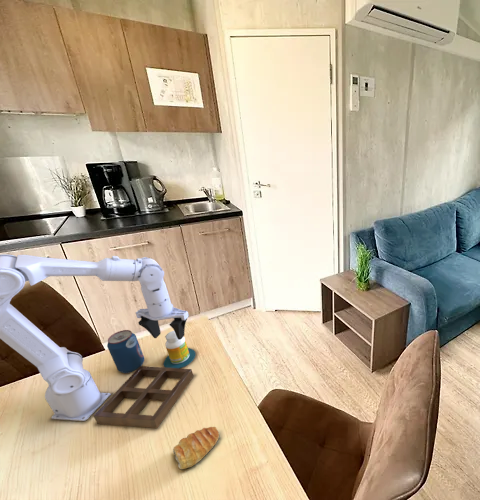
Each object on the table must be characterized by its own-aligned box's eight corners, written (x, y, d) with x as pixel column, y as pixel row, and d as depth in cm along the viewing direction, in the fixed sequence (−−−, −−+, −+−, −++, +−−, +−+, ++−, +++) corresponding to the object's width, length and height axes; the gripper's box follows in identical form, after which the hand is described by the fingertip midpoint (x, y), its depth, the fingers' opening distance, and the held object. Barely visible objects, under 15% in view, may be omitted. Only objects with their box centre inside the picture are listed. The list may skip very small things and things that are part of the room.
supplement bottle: (186, 363, 90) (178, 339, 86) (167, 365, 89) (159, 341, 85) (192, 351, 94) (185, 327, 90) (174, 352, 94) (167, 329, 90)
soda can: (150, 362, 90) (139, 332, 85) (127, 378, 85) (113, 347, 80) (137, 355, 93) (125, 326, 88) (113, 370, 87) (99, 340, 82)
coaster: (157, 369, 88) (157, 368, 88) (175, 348, 96) (175, 347, 96) (185, 370, 87) (185, 370, 87) (201, 349, 96) (200, 348, 95)
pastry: (212, 424, 72) (209, 414, 70) (225, 443, 68) (222, 433, 66) (171, 454, 65) (167, 443, 64) (183, 476, 61) (179, 466, 60)
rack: (97, 423, 72) (92, 415, 71) (143, 373, 86) (140, 365, 85) (157, 428, 71) (154, 420, 70) (193, 376, 86) (191, 368, 84)
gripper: (190, 292, 84) (199, 329, 90) (143, 290, 85) (155, 326, 90) (175, 306, 78) (186, 344, 83) (124, 304, 78) (139, 342, 84)
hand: (169, 336), depth 86 cm, fingers open, 7 cm apart
